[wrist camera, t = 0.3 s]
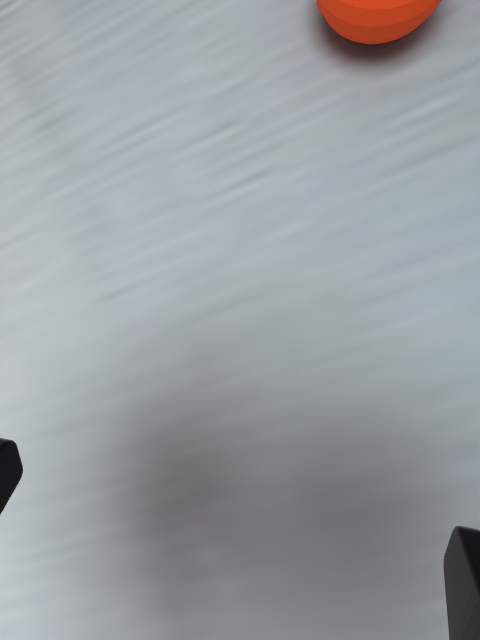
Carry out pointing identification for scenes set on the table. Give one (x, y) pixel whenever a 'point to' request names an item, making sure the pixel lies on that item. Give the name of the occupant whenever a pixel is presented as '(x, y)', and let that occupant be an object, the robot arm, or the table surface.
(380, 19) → the clementine
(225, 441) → the table surface
